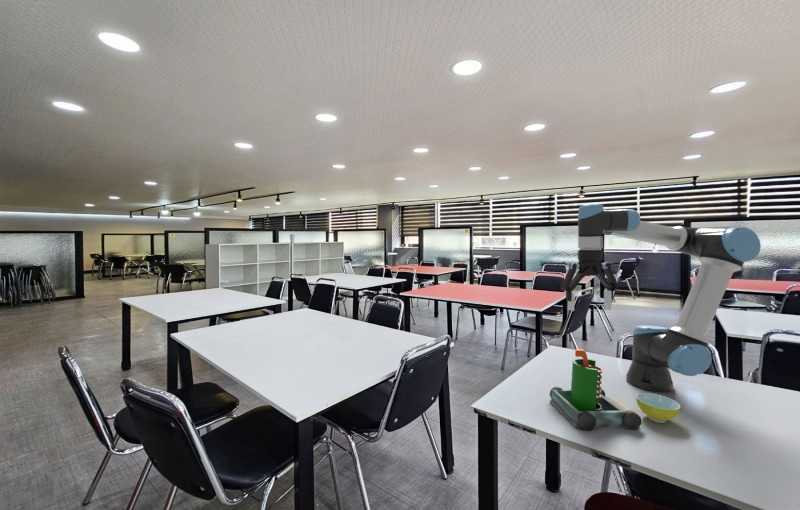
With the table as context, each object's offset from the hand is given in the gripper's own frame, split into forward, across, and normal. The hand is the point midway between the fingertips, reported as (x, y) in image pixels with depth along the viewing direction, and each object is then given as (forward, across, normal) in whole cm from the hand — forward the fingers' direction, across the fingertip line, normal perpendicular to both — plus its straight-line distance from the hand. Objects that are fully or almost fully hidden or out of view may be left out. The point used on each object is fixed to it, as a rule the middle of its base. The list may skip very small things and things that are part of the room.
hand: (589, 309), depth 122 cm
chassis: (+32, +5, +10) cm, 34 cm away
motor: (+31, +7, +9) cm, 34 cm away
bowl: (+33, -14, +14) cm, 39 cm away
